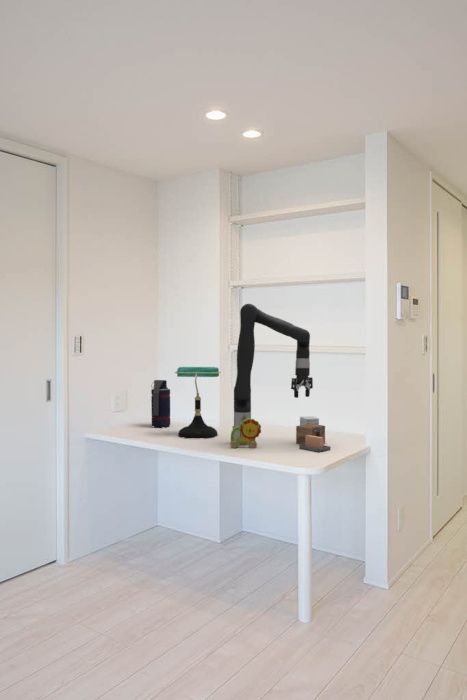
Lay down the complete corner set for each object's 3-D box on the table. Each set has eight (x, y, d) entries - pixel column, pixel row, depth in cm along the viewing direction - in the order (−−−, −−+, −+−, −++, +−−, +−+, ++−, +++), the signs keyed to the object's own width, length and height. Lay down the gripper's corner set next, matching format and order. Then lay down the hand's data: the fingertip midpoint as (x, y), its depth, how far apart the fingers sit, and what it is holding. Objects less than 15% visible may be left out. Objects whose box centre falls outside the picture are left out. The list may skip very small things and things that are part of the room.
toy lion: (230, 448, 297) (230, 419, 296) (230, 446, 302) (230, 417, 302) (261, 448, 297) (261, 419, 296) (260, 446, 302) (260, 417, 302)
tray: (319, 452, 286) (319, 448, 286) (299, 448, 295) (299, 445, 295) (330, 450, 292) (330, 446, 292) (310, 446, 301) (310, 443, 301)
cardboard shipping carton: (311, 446, 302) (311, 428, 301) (296, 443, 309) (296, 426, 309) (325, 443, 310) (325, 425, 309) (310, 440, 318) (310, 423, 317)
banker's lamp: (222, 432, 346) (222, 366, 345) (217, 439, 323) (217, 368, 322) (179, 431, 348) (179, 365, 347) (171, 438, 325) (171, 368, 324)
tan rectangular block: (320, 449, 289) (320, 438, 289) (305, 447, 297) (305, 435, 296) (323, 449, 291) (323, 437, 291) (308, 446, 298) (308, 434, 298)
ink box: (305, 439, 322) (305, 418, 322) (299, 436, 330) (299, 416, 330) (319, 438, 324) (319, 417, 324) (313, 436, 333) (313, 415, 332)
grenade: (156, 424, 376) (156, 379, 375) (173, 425, 372) (173, 379, 371) (146, 428, 363) (146, 380, 362) (164, 428, 359) (163, 381, 358)
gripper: (306, 366, 313) (305, 395, 313) (288, 366, 303) (287, 397, 304) (316, 366, 307) (316, 397, 307) (298, 367, 298) (297, 398, 298)
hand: (301, 397), depth 306 cm, fingers open, 8 cm apart
